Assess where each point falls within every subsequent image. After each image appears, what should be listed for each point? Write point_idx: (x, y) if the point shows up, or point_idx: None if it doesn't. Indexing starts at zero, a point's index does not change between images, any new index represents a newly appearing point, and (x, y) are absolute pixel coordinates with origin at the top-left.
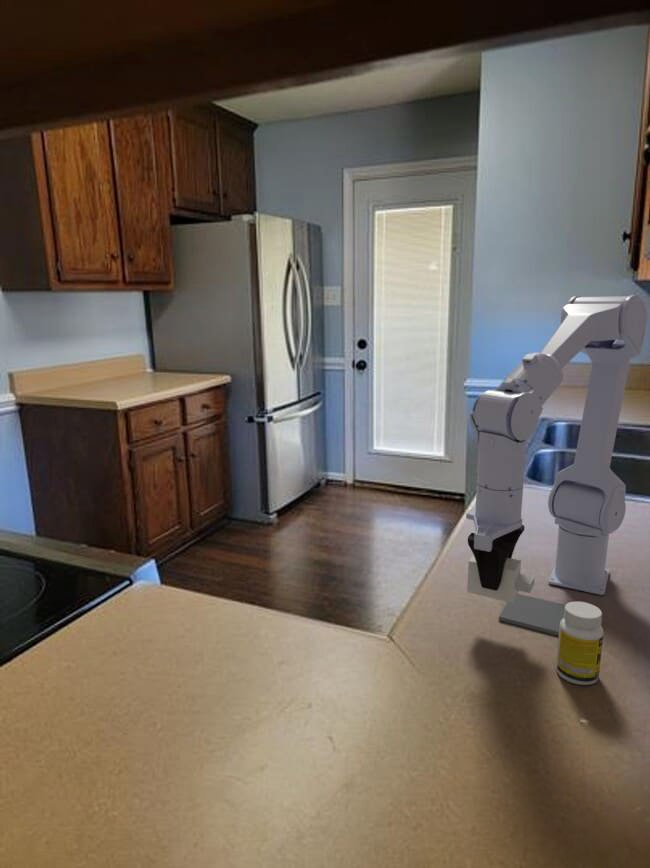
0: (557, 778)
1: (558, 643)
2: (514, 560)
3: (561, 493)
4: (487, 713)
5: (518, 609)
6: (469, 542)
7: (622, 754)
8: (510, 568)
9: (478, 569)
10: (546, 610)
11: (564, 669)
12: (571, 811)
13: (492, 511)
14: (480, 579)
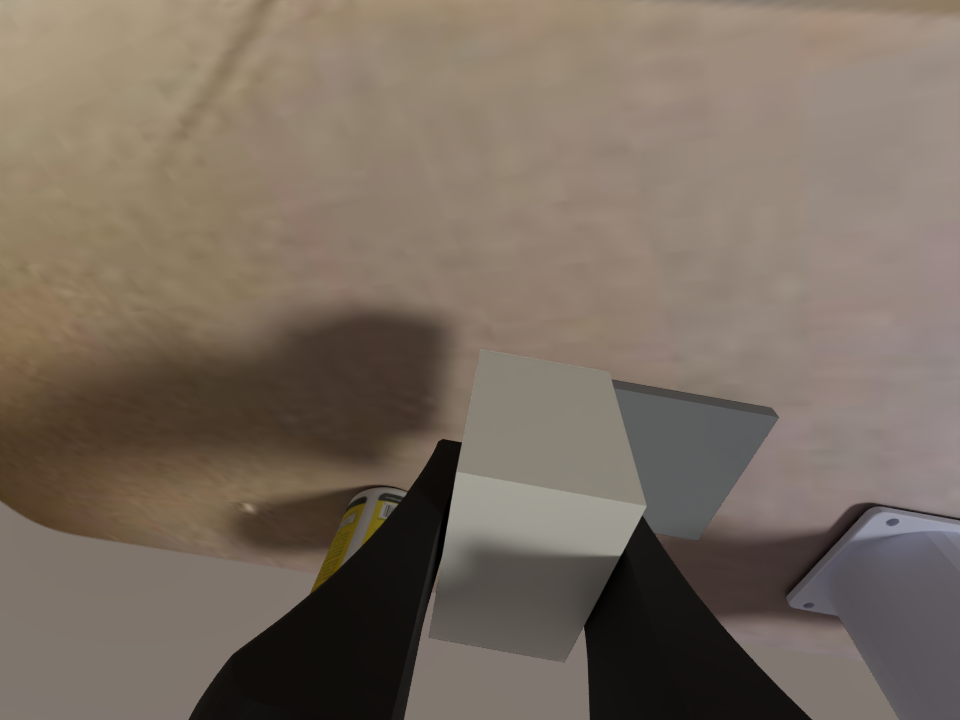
0: (79, 464)
1: (357, 546)
2: (557, 644)
3: None
4: (139, 363)
5: (646, 432)
6: (199, 702)
7: (206, 540)
8: (449, 626)
9: (399, 503)
10: (656, 494)
11: (345, 514)
12: (34, 475)
13: None
14: (429, 463)
